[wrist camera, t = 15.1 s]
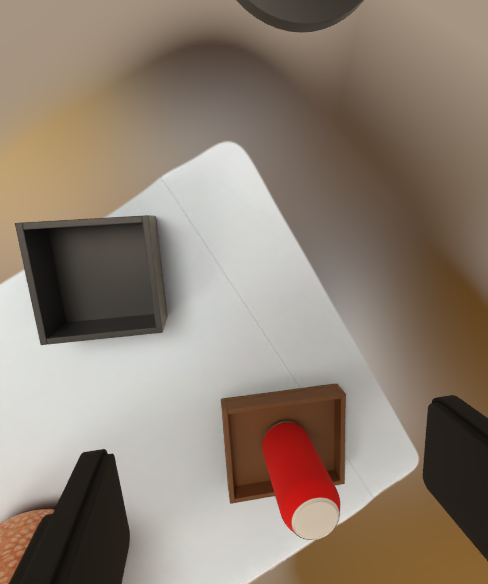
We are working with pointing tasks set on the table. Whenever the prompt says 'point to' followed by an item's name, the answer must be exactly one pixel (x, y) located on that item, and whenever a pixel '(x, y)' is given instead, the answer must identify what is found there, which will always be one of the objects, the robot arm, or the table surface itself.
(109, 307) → the bin
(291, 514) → the beverage can
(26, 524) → the planter
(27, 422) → the table surface
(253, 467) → the tray
